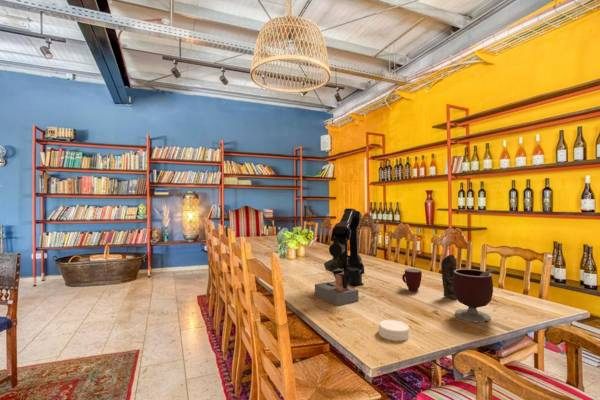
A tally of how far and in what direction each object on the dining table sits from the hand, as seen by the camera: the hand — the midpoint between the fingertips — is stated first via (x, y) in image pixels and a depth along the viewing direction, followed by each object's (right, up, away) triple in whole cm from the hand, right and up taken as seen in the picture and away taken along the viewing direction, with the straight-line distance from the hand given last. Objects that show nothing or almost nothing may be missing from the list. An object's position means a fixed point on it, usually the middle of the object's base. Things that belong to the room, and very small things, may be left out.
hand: (341, 287), depth 141 cm
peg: (0, -3, 0) cm, 3 cm away
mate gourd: (+49, -6, -20) cm, 53 cm away
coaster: (+13, -6, -36) cm, 39 cm away
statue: (+52, -6, +4) cm, 53 cm away
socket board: (-2, -6, +4) cm, 8 cm away
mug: (+38, -6, +17) cm, 42 cm away
